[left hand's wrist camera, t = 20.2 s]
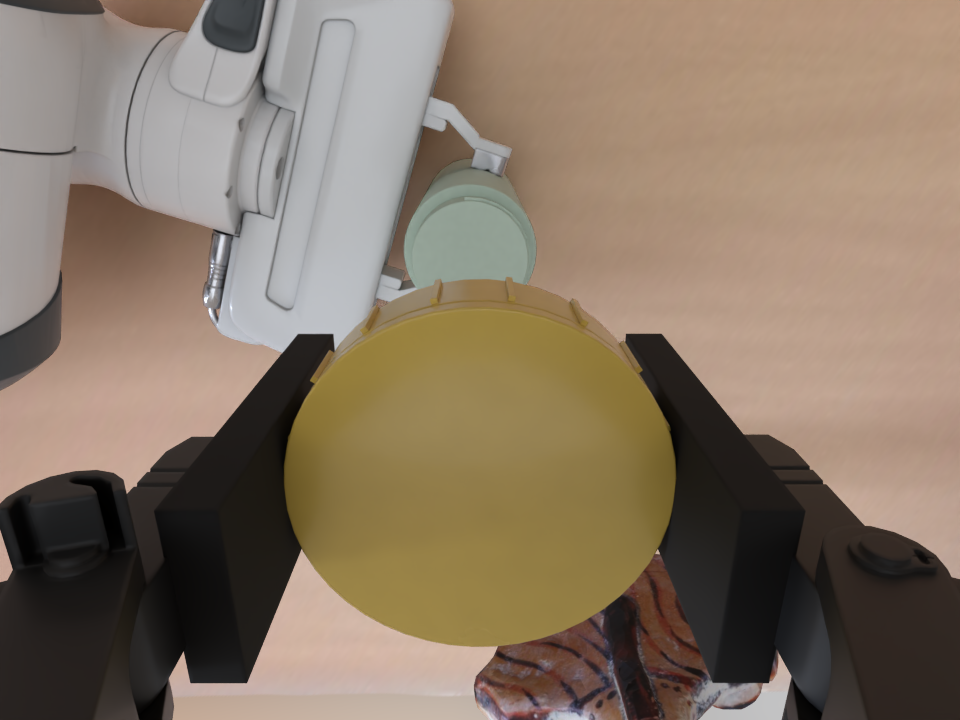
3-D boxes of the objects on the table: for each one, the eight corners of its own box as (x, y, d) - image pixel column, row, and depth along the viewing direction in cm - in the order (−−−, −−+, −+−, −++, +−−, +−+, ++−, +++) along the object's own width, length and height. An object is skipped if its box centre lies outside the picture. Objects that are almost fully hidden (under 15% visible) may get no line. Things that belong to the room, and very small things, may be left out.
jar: (512, 252, 41) (533, 330, 27) (425, 247, 41) (398, 323, 27) (519, 161, 39) (546, 192, 25) (427, 155, 39) (400, 184, 25)
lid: (256, 317, 11) (217, 352, 9) (628, 236, 11) (655, 258, 9) (361, 606, 13) (344, 675, 12) (672, 551, 13) (700, 615, 11)
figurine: (496, 536, 49) (525, 1105, 21) (456, 454, 46) (431, 977, 18) (684, 472, 47) (990, 1003, 19) (654, 382, 45) (958, 846, 17)
